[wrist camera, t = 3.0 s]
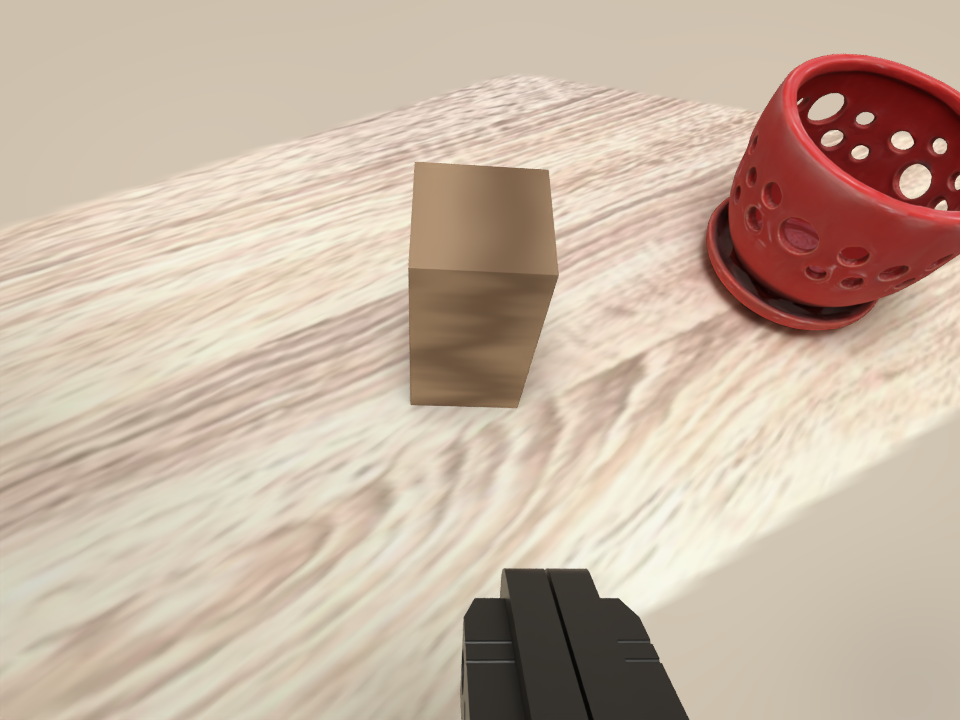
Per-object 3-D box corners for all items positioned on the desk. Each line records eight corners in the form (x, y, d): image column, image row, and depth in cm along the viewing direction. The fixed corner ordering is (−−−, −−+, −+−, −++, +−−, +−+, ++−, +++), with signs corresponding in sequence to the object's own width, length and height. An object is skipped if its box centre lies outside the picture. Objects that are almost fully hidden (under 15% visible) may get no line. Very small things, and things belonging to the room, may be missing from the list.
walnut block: (410, 404, 35) (408, 267, 25) (415, 316, 38) (414, 161, 28) (517, 407, 35) (558, 275, 25) (513, 320, 38) (548, 169, 28)
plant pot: (768, 379, 38) (900, 248, 28) (656, 225, 44) (730, 69, 33) (924, 319, 41) (1091, 183, 31) (801, 184, 47) (908, 31, 37)
